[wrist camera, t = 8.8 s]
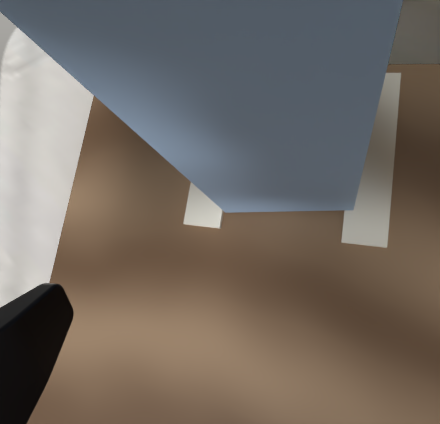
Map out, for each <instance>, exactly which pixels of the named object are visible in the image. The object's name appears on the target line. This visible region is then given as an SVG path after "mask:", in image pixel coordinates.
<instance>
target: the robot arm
mask: <svg viewBox="0 0 440 424" xmlns="http://www.w3.org/2000/svg"><path fill="white" fill-rule="evenodd" d="M73 316H74V311H73V307H72V305H71V303H70V301H69V299H68V297H67V294H66V292H65V290H64V288H63V287H62V286H61V285H60V284H55V283H44V284H41V285H39V286H37V287H36V288H34V289H32V290H30V291H29V292H27V293H25V294H23V295H22V296H20V297H18V298H16V299H15V300H13V301H11V302H9V303H8V304H6V305H4V306H3V307H1V308H0V424H27V422H28V420H29V418H30V416H31V414H32V412H33V410H34V408H35V407H36V405H37V403H38V401H39V399H40V397H41V395H42V393H43V391H44V389H45V387H46V384H47V382H48V380H49V378H50V376H51V373H52V371H53V368H54V366H55V363H56V361H57V358H58V356H59V353H60V351H61V348H62V346H63V343H64V341H65V338H66V336H67V333H68V331H69V328H70V326H71V323H72V320H73Z"/></svg>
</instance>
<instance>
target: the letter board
mask: <svg viewBox="0 0 440 424" xmlns="http://www.w3.org/2000/svg"><path fill="white" fill-rule="evenodd" d="M50 283H55V284H60V285H61V286H62V287H63V288H64V290H65V292H66V294H67V297H68V299H69V301H70V303H71V305H72V307H73V311H74V316H73V320H72V323H71V326H70V328H69V331H68V333H67V336H66V338H65V341H64V343H63V346H62V348H61V351H60V353H59V356H58V358H57V361H56V363H55V366H54V368H53V371H52V373H51V376H50V378H49V380H48V382H47V384H46V387H45V389H44V391H43V393H42V395H41V397H40V399H39V401H38V403H37V405H36V407H35V408H34V410H33V412H32V414H31V416H30V418H29V420H28V422H27V424H440V64H388V66H387V70H386V75H385V79H384V83H383V87H382V91H381V96H380V100H379V104H378V108H377V113H376V117H375V121H374V125H373V129H372V134H371V138H370V142H369V146H368V151H367V155H366V159H365V163H364V168H363V172H362V176H361V180H360V184H359V189H358V193H357V197H356V201H355V206H354V210H337V211H286V212H235V213H225V212H224V211H223V210H222V209H221V208H220V207H219V206H217V205H216V204H215V203H214V202H213V201H212V200H211V199H210V198H208V197H207V196H206V195H205V194H204V193H203V192H202V191H201V190H199V189H198V188H197V187H196V186H195V185H194V184H193V183H192V182H191V181H189V180H188V179H187V178H186V177H185V176H184V175H183V174H182V173H180V172H179V171H178V170H177V169H176V168H175V167H174V166H173V165H171V164H170V163H169V162H168V161H167V160H166V159H165V158H164V157H163V156H161V155H160V154H159V153H158V152H157V151H156V150H155V149H154V148H152V147H151V146H150V145H149V144H148V143H147V142H146V141H145V140H143V139H142V138H141V137H140V136H139V135H138V134H137V133H136V132H134V131H133V130H132V129H131V128H130V127H129V126H128V125H127V124H126V123H124V122H123V121H122V120H121V119H120V118H119V117H118V116H117V115H115V114H114V113H113V112H112V111H111V110H110V109H109V108H108V107H106V106H105V105H104V104H103V103H102V102H101V101H100V100H99V99H98V98H96V97H95V96H94V98H93V102H92V106H91V110H90V114H89V119H88V123H87V127H86V131H85V136H84V140H83V144H82V148H81V152H80V157H79V161H78V165H77V169H76V173H75V178H74V182H73V186H72V190H71V195H70V199H69V203H68V207H67V211H66V216H65V220H64V224H63V228H62V232H61V237H60V241H59V245H58V249H57V254H56V258H55V262H54V266H53V270H52V275H51V279H50Z"/></svg>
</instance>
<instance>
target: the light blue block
mask: <svg viewBox="0 0 440 424" xmlns="http://www.w3.org/2000/svg"><path fill="white" fill-rule="evenodd" d="M402 3H403V0H0V12H1V13H2V14H3V15H5V16H6V17H7V18H8V19H9V20H10V21H11V22H12V23H14V24H15V25H16V26H17V27H18V28H19V29H20V30H21V31H22V32H24V33H25V34H26V35H27V36H28V37H29V38H30V39H31V40H33V41H34V42H35V43H36V44H37V45H38V46H39V47H40V48H41V49H43V50H44V51H45V52H46V53H47V54H48V55H49V56H50V57H52V58H53V59H54V60H55V61H56V62H57V63H58V64H59V65H61V66H62V67H63V68H64V69H65V70H66V71H67V72H68V73H69V74H71V75H72V76H73V77H74V78H75V79H76V80H77V81H78V82H80V83H81V84H82V85H83V86H84V87H85V88H86V89H87V90H89V91H90V92H91V93H92V94H93V95H94V96H95V97H96V98H98V99H99V100H100V101H101V102H102V103H103V104H104V105H105V106H106V107H108V108H109V109H110V110H111V111H112V112H113V113H114V114H115V115H117V116H118V117H119V118H120V119H121V120H122V121H123V122H124V123H126V124H127V125H128V126H129V127H130V128H131V129H132V130H133V131H134V132H136V133H137V134H138V135H139V136H140V137H141V138H142V139H143V140H145V141H146V142H147V143H148V144H149V145H150V146H151V147H152V148H154V149H155V150H156V151H157V152H158V153H159V154H160V155H161V156H163V157H164V158H165V159H166V160H167V161H168V162H169V163H170V164H171V165H173V166H174V167H175V168H176V169H177V170H178V171H179V172H180V173H182V174H183V175H184V176H185V177H186V178H187V179H188V180H189V181H191V182H192V183H193V184H194V185H195V186H196V187H197V188H198V189H199V190H201V191H202V192H203V193H204V194H205V195H206V196H207V197H208V198H210V199H211V200H212V201H213V202H214V203H215V204H216V205H217V206H219V207H220V208H221V209H222V210H223V211H224V212H225V213H235V212H286V211H337V210H354V206H355V201H356V197H357V193H358V189H359V184H360V180H361V176H362V172H363V168H364V163H365V159H366V155H367V151H368V146H369V142H370V138H371V134H372V129H373V125H374V121H375V117H376V113H377V108H378V104H379V100H380V96H381V91H382V87H383V83H384V79H385V75H386V70H387V66H388V62H389V58H390V53H391V49H392V45H393V41H394V37H395V32H396V28H397V24H398V20H399V15H400V11H401V7H402Z"/></svg>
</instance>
